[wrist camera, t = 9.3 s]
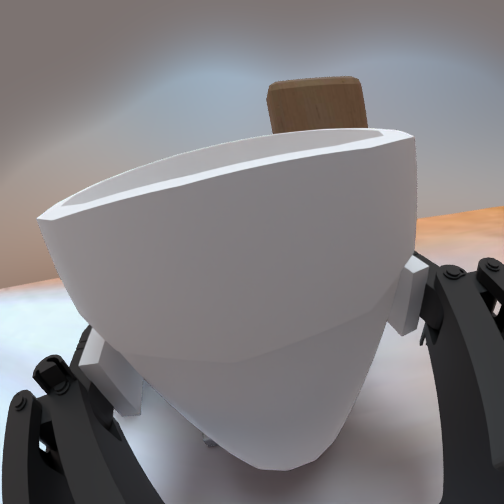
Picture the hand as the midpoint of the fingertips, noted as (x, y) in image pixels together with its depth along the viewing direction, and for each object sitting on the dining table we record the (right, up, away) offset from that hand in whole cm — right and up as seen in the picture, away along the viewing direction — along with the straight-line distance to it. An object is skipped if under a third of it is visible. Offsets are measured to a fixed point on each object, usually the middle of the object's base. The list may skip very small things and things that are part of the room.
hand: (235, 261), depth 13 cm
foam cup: (+2, -9, -1) cm, 9 cm away
